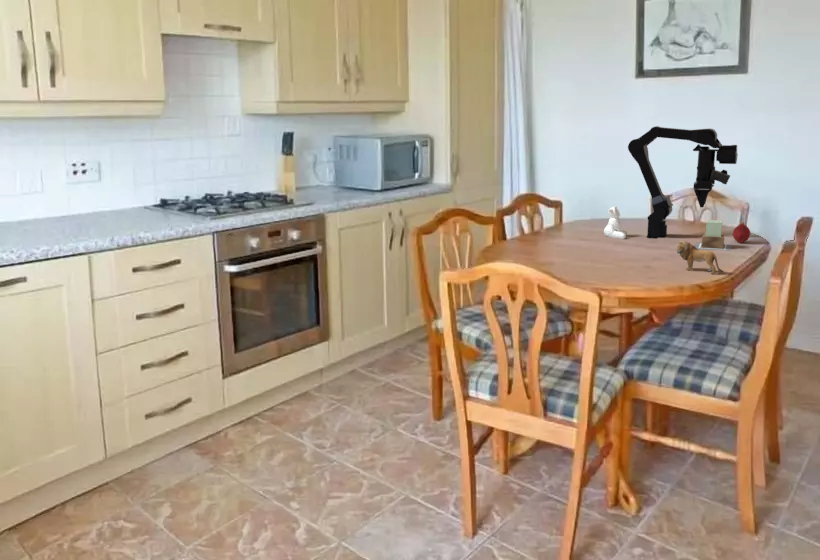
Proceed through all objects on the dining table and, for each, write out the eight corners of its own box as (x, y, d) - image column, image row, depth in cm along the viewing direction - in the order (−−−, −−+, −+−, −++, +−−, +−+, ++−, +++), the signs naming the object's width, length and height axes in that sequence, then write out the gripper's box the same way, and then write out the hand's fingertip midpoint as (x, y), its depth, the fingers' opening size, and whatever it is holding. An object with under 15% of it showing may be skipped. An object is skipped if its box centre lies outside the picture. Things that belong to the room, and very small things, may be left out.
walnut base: (701, 247, 256) (702, 236, 255) (702, 244, 262) (703, 233, 261) (722, 248, 253) (723, 237, 252) (723, 245, 259) (724, 234, 258)
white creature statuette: (625, 239, 277) (626, 208, 274) (602, 238, 279) (603, 207, 277) (627, 235, 285) (628, 204, 282) (604, 234, 288) (605, 204, 285)
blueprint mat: (693, 249, 255) (693, 248, 255) (695, 243, 266) (695, 242, 265) (730, 251, 250) (730, 250, 250) (731, 245, 261) (731, 244, 260)
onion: (751, 245, 259) (753, 223, 258) (734, 245, 261) (735, 223, 259) (747, 242, 265) (749, 220, 263) (730, 242, 266) (732, 220, 264)
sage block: (705, 236, 256) (706, 222, 254) (706, 233, 260) (707, 220, 259) (720, 237, 254) (721, 223, 252) (721, 234, 258) (722, 220, 257)
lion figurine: (672, 269, 227) (674, 241, 225) (677, 266, 231) (679, 238, 229) (720, 275, 218) (723, 246, 216) (725, 272, 222) (728, 243, 220)
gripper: (728, 166, 253) (725, 210, 257) (730, 161, 270) (727, 203, 274) (694, 165, 258) (691, 208, 262) (698, 161, 274) (695, 202, 278)
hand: (702, 205), depth 269 cm, fingers open, 9 cm apart
